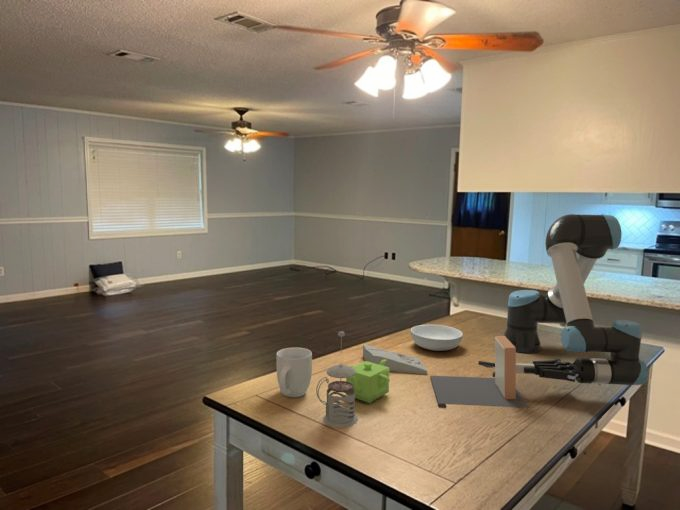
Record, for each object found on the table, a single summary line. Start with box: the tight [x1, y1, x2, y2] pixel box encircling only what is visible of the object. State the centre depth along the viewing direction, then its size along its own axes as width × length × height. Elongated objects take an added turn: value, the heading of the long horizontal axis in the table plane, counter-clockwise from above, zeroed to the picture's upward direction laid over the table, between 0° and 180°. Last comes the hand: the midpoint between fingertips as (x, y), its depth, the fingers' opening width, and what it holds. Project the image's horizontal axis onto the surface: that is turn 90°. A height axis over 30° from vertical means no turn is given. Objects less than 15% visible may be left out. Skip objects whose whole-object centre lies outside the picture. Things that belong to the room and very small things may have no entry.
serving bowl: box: [410, 324, 464, 352], centre depth 195 cm, size 21×21×7 cm
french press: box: [315, 330, 359, 429], centre depth 130 cm, size 10×12×25 cm
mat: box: [429, 375, 530, 409], centre depth 151 cm, size 22×26×1 cm
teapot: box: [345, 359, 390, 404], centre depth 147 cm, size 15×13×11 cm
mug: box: [275, 347, 313, 398], centre depth 146 cm, size 15×11×13 cm
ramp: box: [362, 344, 428, 376], centre depth 174 cm, size 28×16×5 cm, turn 53°
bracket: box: [477, 360, 495, 378], centre depth 169 cm, size 14×15×3 cm
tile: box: [494, 335, 517, 399], centre depth 149 cm, size 12×3×16 cm, turn 176°
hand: (512, 368), depth 148 cm, fingers closed
